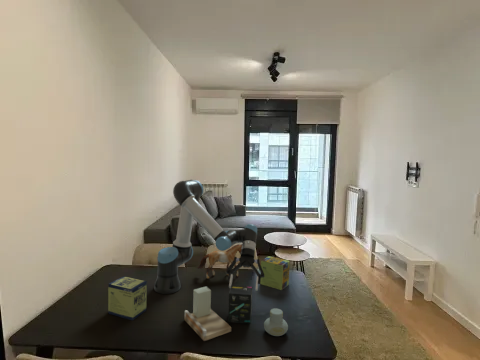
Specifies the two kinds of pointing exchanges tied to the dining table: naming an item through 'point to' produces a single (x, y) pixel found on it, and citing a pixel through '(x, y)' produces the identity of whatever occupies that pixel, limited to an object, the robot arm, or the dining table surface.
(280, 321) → the air freshener
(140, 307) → the protein box
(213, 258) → the horse figurine
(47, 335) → the dining table surface
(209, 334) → the pale wooden board
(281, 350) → the dining table surface
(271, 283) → the protein box
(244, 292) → the tampon box
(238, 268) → the robot arm
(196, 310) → the sage carton
